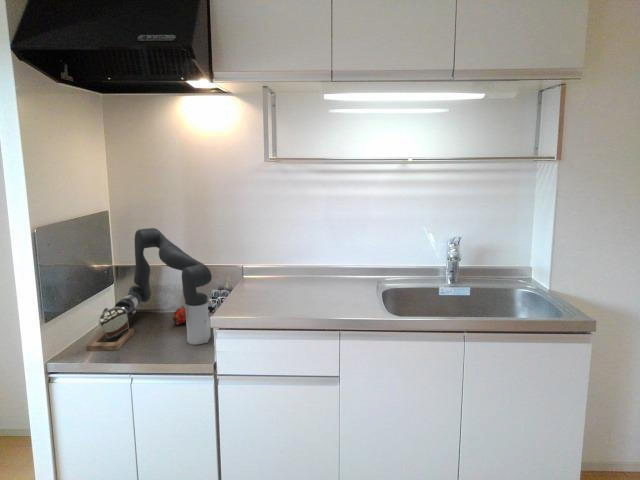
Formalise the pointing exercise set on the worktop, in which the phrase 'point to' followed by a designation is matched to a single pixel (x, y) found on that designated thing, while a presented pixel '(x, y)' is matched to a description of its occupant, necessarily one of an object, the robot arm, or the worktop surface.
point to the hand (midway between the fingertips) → (111, 319)
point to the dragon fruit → (180, 316)
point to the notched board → (99, 345)
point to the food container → (114, 321)
